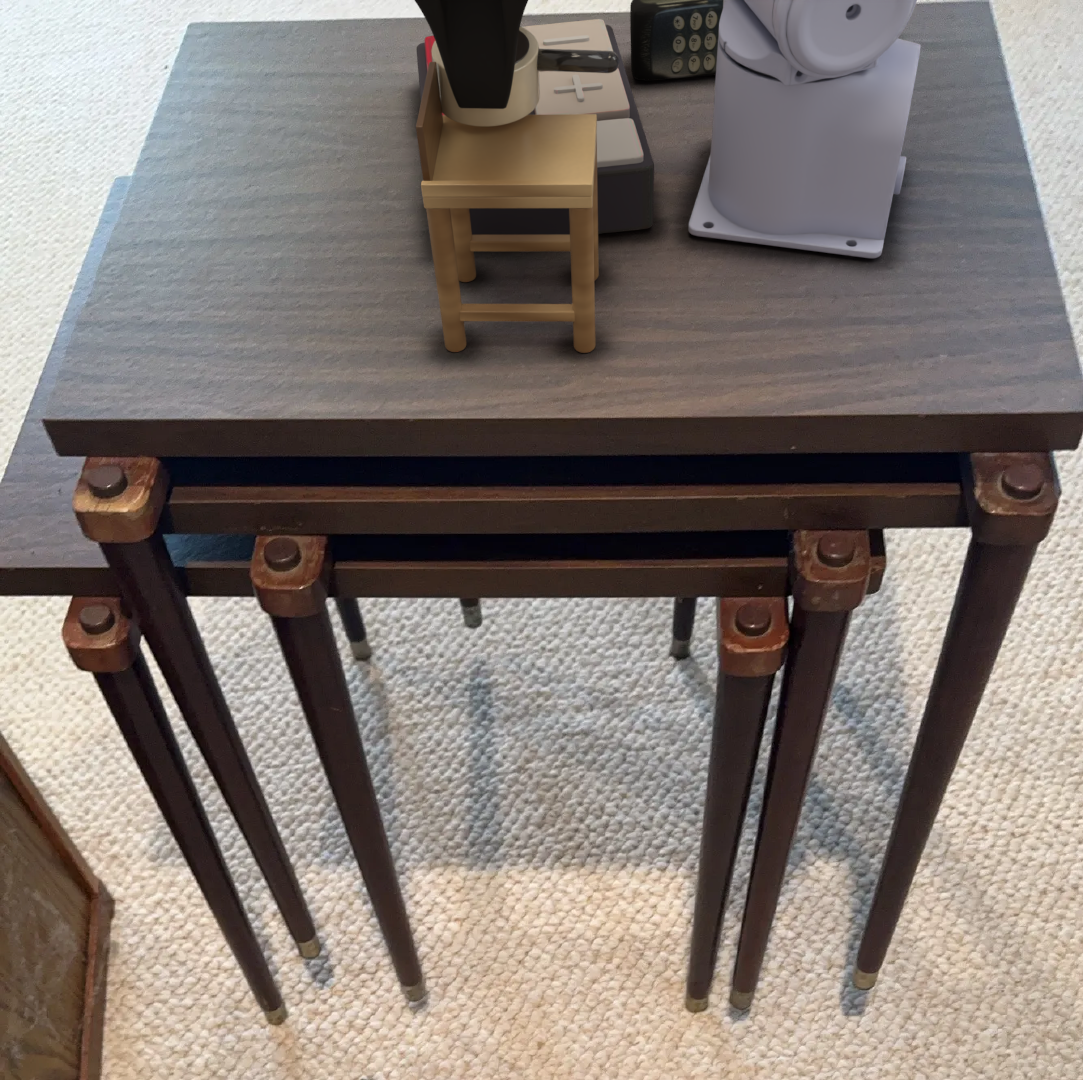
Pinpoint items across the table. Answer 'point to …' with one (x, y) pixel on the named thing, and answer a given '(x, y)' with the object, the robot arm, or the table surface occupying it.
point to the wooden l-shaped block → (504, 159)
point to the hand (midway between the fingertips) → (488, 70)
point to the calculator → (618, 137)
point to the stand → (459, 244)
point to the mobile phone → (674, 38)
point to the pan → (523, 79)
